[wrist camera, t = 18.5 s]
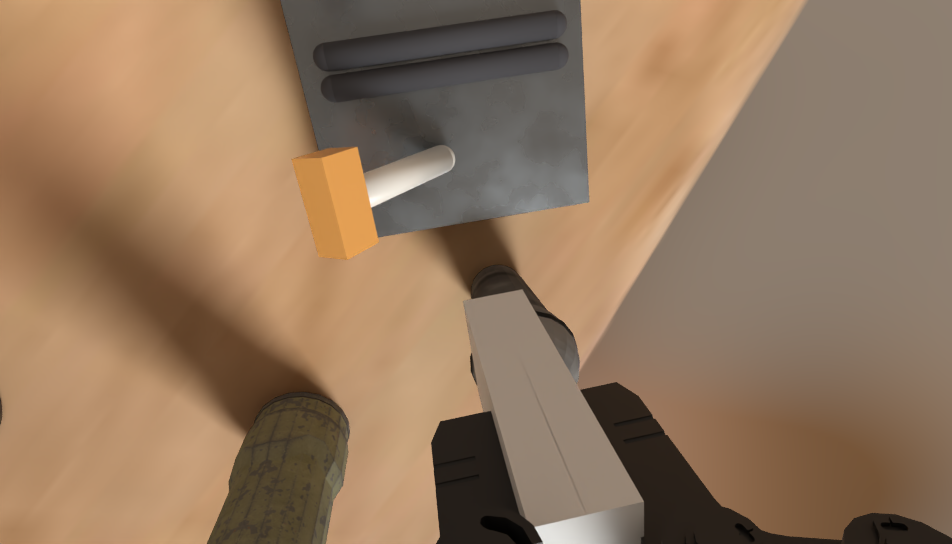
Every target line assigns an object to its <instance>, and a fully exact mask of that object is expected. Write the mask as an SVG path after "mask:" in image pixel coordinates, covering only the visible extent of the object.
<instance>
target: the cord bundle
mask: <svg viewBox="0 0 952 544" xmlns="http://www.w3.org/2000/svg"><path fill="white" fill-rule="evenodd" d="M566 28H567V19H566V17H565V15H564V14H563V13H562V12H560V11H558V10H551V11H544V12H537V13H530V14H523V15H516V16H509V17H502V18H495V19H488V20H481V21H474V22H466V23H459V24H452V25H445V26H438V27H431V28H424V29H417V30H410V31H403V32H396V33H389V34H382V35H375V36H368V37H360V38H353V39H346V40H339V41H332V42H325V43H321V44H319V45H317V46H316V47H315V49H314V51H313V60H314V62H315V64H316V66H317V67H318V68H319V69H321V70H323V71H327V72H330V71H337V70H344V69H351V68H358V67H365V66H372V65H379V64H385V63H392V62H399V61H406V60H413V59H420V58H427V57H434V56H441V55H447V54H454V53H461V52H468V51H475V50H482V49H489V48H496V47H503V46H509V45H516V44H523V43H530V42H537V41H544V40H551V39H556V38H559V37H560V36H562V35H563V34H564V32H565V30H566ZM568 58H569V53H568V49H567V48H566V46H565V45H563V44H562V43H558V42H555V43H548V44H541V45H534V46H527V47H520V48H513V49H506V50H500V51H493V52H486V53H479V54H472V55H465V56H458V57H451V58H445V59H438V60H431V61H424V62H417V63H410V64H403V65H396V66H390V67H383V68H376V69H369V70H362V71H355V72H348V73H342V74H335V75H329V76H327V77H325V78H324V79H323V81H322V83H321V93H322V95H323V96H324V98H325V99H327V100H328V101H330V102H334V103H337V102H344V101H351V100H357V99H364V98H371V97H378V96H384V95H391V94H398V93H404V92H411V91H418V90H425V89H431V88H438V87H445V86H451V85H458V84H465V83H472V82H478V81H485V80H492V79H498V78H505V77H512V76H519V75H525V74H532V73H539V72H545V71H552V70H558V69H561V68H562V67H564V66H565V65H566V63H567V61H568Z"/></svg>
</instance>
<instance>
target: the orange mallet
mask: <svg viewBox="0 0 952 544" xmlns="http://www.w3.org/2000/svg"><path fill="white" fill-rule="evenodd" d="M292 162H293V166H294V170H295V173H296V177H297V180H298V184H299V187H300V191H301V195H302V198H303V202H304V205H305V209H306V212H307V216H308V220H309V223H310V227H311V230H312V234H313V237H314V241H315V245H316V248H317V252H318V255H319V257H326V258H335V259H344V260H348V259H350V258H352V257H354V256H355V255H357V254H359V253H361V252H362V251H364V250H366V249H368V248H370V247H371V246H373V245H375V244H377V243H379V240H378V236H377V231H376V227H375V223H374V218H373V214H372V209H371V208H372V207H374V206H376V205H378V204H380V203H382V202H384V201H387V200H389V199H391V198H393V197H395V196H397V195H399V194H402V193H404V192H406V191H408V190H410V189H412V188H414V187H417V186H419V185H421V184H423V183H425V182H427V181H429V180H432V179H434V178H436V177H438V176H440V175H442V174H444V173H447V172H448V171H450V170H451V169H452V168H453V166H454V164H455V155H454V152H453V151H452V150H451V149H450V148H449V147H447V146H445V145H437V146H435V147H432V148H429V149H427V150H424V151H421V152H419V153H416V154H413V155H411V156H408V157H405V158H403V159H400V160H398V161H395V162H392V163H390V164H387V165H384V166H382V167H379V168H376V169H374V170H371V171H368V172H366V173H363V169H362V165H361V160H360V156H359V152H358V147H342V148H327V149H324V150H320V151H317V152H314V153H310V154H307V155H303V156H300V157H297V158H293V159H292Z"/></svg>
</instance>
